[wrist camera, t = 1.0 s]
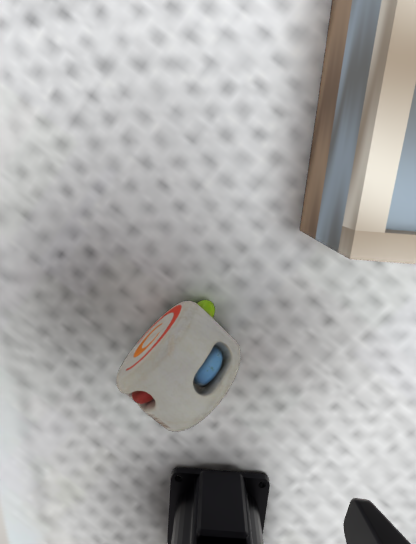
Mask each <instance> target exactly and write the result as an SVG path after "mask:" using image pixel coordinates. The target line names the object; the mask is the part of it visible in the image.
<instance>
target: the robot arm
mask: <svg viewBox="0 0 416 544" xmlns="http://www.w3.org/2000/svg"><path fill="white" fill-rule="evenodd" d="M178 476H181V477H178ZM260 482H263V483H260ZM269 487H270V484H269V478H268V476H267V475H265V474H260V473H247V472H233V471H220V470H206V469H193V468H175V469H174V470H173V471H172V475H171V488H170V506H169V524H168V544H263V537H262V534H263V527H264V520H265V514H266V507H267V500H268V493H269ZM344 533H345V538H346V542H347V544H410V543H409V542H408V540H407V539H406V538H405V537H404V536H403V535H402V534H401V533H400V532H399V531H398V530H397V529H396V528H395V527H394V526H393V525H392V523H391V522H390V521H389V520H388V519H387V518H386V517H385V516H384V515H383V514H382V513H381V512H380V511H379V510H378V509H377V508H376V506H375V505H374V504H373V503H372V502H370V501H369V500H367V499H359V498H353V499H352V500H351V502H350V505H349V508H348V510H347V513H346V516H345V519H344Z"/></svg>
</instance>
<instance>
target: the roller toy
mask: <svg viewBox="0 0 416 544" xmlns="http://www.w3.org/2000/svg"><path fill="white" fill-rule="evenodd" d="M214 313H215V307H214V305H213V303H212V302H211V301H209V300H202V301H200V302H198V303H195V302H192V301H183V302H181V303H179V304H177V305H175V306H174V307H172V308H171V309H170V310H168V311H167V312H166V313H165V314H164V315H162V316H161V317H160V318H159V319H158V320H157V321H156V322H155V323H154V324H153V325H152V326H151V327H150V328H149V329H148V331H147V332H146V333H145V334H144V335H143V336H142V337H141V339H140V340H139V341H138V342H137V343H136V345H135V346H134V347H133V349H132V350H131V351H130V353H129V354H128V356H127V357H126V359H125V360H124V362H123V363H122V365H121V367H120V369H119V371H118V374H117V379H116V383H117V387H118V389H119V391H120V392H122V393H123V394H127V395H128V396H129V397H131V398H132V399H133V400H134V401H135V402H136V403H137V404H138V405H139V406H140V408H141V409H142V410H143V411H144V412H145V413H146V414H148V415H149V416H150V417H152V418H153V419H154V420H156V421H157V422H158V423H159V424H161V425H162V426H163V427H165V428H166V429H168V430H170V431H174V432H178V431H184V430H186V429H189V428H191V427H193V426H194V425H196V424H198V423H199V422H200V421H202V420H203V419H204V418H205V417H206V416H208V415H209V414H210V413H211V412H212V411H213V410H214V409H215V407H216V406H217V405H218V404H219V403H220V401H221V400H222V399H223V397H224V396H225V395H226V393H227V392H228V390H229V388H230V387H231V385H232V383H233V381H234V379H235V377H236V374H237V371H238V368H239V364H240V359H241V352H240V347H239V345H238V343H237V342H236V340H235V339H234V338H233V337H232V336H231V335H230V334H229V333H228V332H226V331H225V330H224V329H223V328H222V327H221V326H220V325H219V324H218V323H217V322H216V321H215V320H214V319H213V316H214Z"/></svg>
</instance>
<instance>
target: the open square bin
mask: <svg viewBox="0 0 416 544" xmlns="http://www.w3.org/2000/svg"><path fill="white" fill-rule="evenodd" d="M300 231H302V232H304V233H305V234H307V235H309V236H311V237H312V238H314V239H316V240H317V241H319V242H321V243H323V244H324V245H326V246H328V247H330V248H331V249H333V250H335V251H337V252H338V253H340V254H342V255H344V256H345V257H347V258H349V259H354V260H367V261H380V262H394V263H407V264H416V0H332V7H331V14H330V21H329V28H328V35H327V42H326V49H325V56H324V63H323V70H322V77H321V84H320V91H319V98H318V105H317V112H316V119H315V126H314V133H313V141H312V148H311V155H310V162H309V169H308V176H307V183H306V190H305V197H304V204H303V211H302V218H301V225H300Z"/></svg>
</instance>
